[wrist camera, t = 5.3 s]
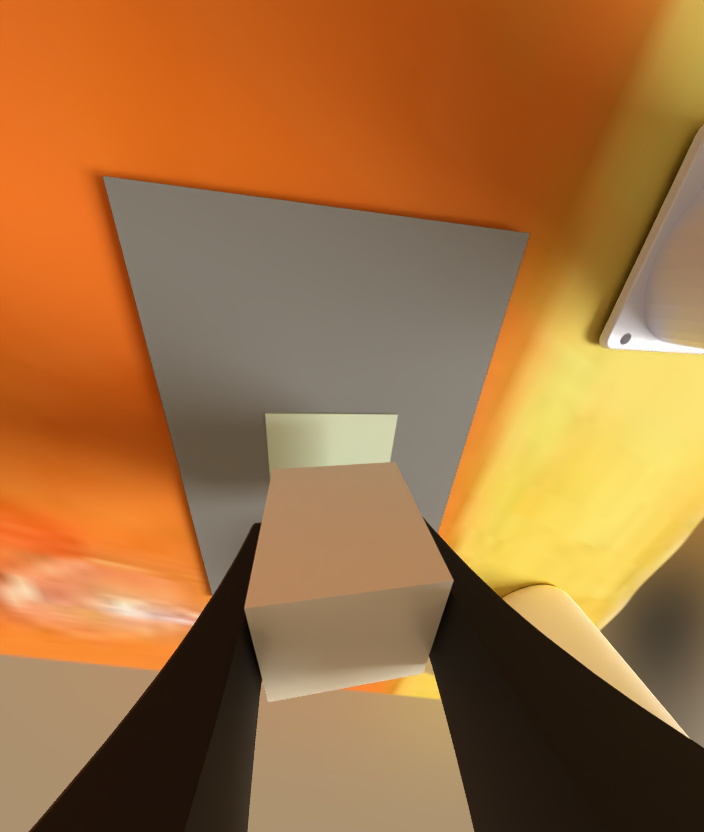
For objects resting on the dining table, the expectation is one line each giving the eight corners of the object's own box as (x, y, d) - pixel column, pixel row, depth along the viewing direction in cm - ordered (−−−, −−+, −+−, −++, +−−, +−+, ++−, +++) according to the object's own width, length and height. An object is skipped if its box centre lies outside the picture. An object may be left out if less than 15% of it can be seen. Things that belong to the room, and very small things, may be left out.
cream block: (395, 461, 10) (453, 580, 6) (384, 543, 12) (422, 673, 8) (272, 469, 9) (244, 608, 5) (282, 554, 11) (268, 702, 7)
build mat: (520, 235, 10) (532, 232, 10) (419, 575, 19) (422, 584, 19) (114, 182, 8) (100, 174, 7) (217, 596, 17) (213, 605, 16)
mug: (429, 629, 23) (506, 852, 14) (483, 569, 20) (625, 803, 11) (524, 636, 27) (636, 818, 18) (582, 586, 24) (753, 774, 15)
